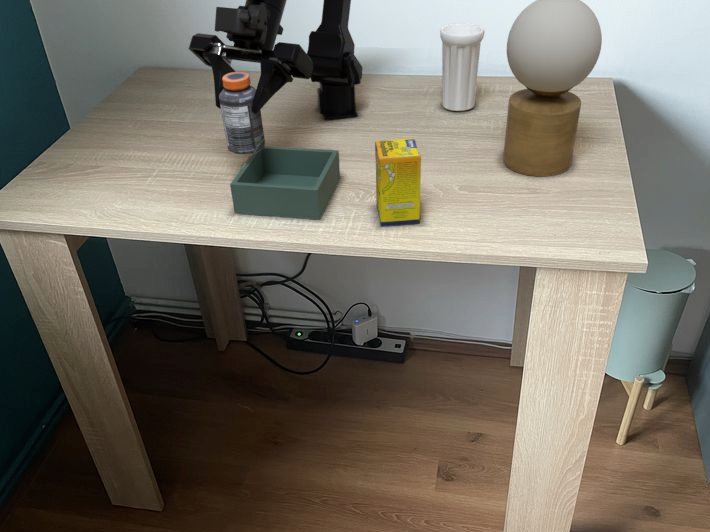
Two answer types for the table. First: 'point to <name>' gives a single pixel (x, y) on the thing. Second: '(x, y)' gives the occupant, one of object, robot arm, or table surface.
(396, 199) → the supplement box
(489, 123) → the table surface
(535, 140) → the lamp
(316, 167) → the green square tray
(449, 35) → the cup
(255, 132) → the pill bottle
